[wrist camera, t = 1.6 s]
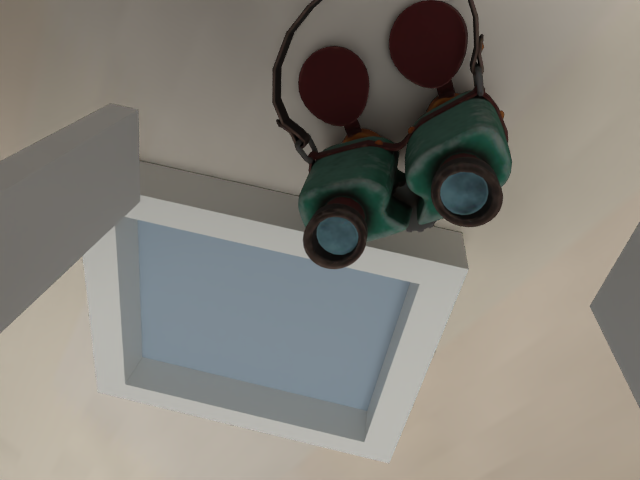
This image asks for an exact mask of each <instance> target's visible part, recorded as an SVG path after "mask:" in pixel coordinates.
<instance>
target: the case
mask: <svg viewBox="0 0 640 480" xmlns="http://www.w3.org/2000/svg"><path fill="white" fill-rule="evenodd" d="M298 200H299V196H295V195H290V194H286V193H282V192H277V191H273V190H268V189H264V188H259V187H255V186H250V185H246V184H241V183H237V182H232V181H228V180H223V179H219V178H215V177H210V176H206V175H201V174H197V173H192V172H188V171H183V170H179V169H174V168H170V167H165V166H161V165H156V164H152V163H148V162H143V161H140V202H139V203H138V204H137V205H136V206H135V207H134V208H133V209H132V210H131V211H130V212H129V213H128V214H127V215H125V216H124V217H123V218H122V219H121V220H120V221H119V222H118V223H117V224H116V225H115V226H114V227H113V228H112V229H111V230H110V231H108V232H107V233H106V234H105V235H104V236H103V237H102V238H101V239H100V240H99V241H98V242H97V243H96V244H95V245H94V246H93V247H91V248H90V249H89V250H88V251H87V252H86V253H85V254H84V255H83V264H84V273H85V282H86V291H87V300H88V310H89V319H90V328H91V337H92V346H93V355H94V365H95V374H96V383H97V392H98V393H102V394H106V395H110V396H114V397H118V398H123V399H127V400H131V401H135V402H139V403H143V404H147V405H151V406H155V407H159V408H164V409H168V410H172V411H176V412H180V413H184V414H188V415H192V416H196V417H201V418H205V419H209V420H213V421H217V422H221V423H225V424H229V425H233V426H237V427H242V428H246V429H250V430H254V431H258V432H262V433H266V434H270V435H274V436H279V437H283V438H287V439H291V440H295V441H299V442H303V443H307V444H311V445H315V446H320V447H324V448H328V449H332V450H336V451H340V452H344V453H348V454H352V455H357V456H361V457H365V458H369V459H373V460H377V461H381V462H385V463H390V460H391V458H392V455H393V453H394V450H395V448H396V446H397V443H398V441H399V438H400V436H401V433H402V431H403V428H404V426H405V424H406V421H407V419H408V416H409V414H410V411H411V409H412V406H413V404H414V402H415V399H416V397H417V394H418V392H419V389H420V387H421V385H422V382H423V380H424V377H425V375H426V372H427V370H428V367H429V365H430V363H431V360H432V358H433V355H434V353H435V350H436V348H437V345H438V343H439V341H440V338H441V336H442V333H443V331H444V328H445V326H446V324H447V321H448V319H449V316H450V314H451V311H452V309H453V306H454V304H455V302H456V299H457V297H458V294H459V292H460V289H461V287H462V284H463V282H464V280H465V277H466V275H467V272H468V270H469V268H468V263H467V257H466V251H465V246H464V240H463V235H462V233H460V232H456V231H451V230H447V229H442V228H438V227H432V228H426V229H424V231H423V232H418V231H412V232H406V230H404V231H401V232H398V233H396V234H393V235H390V236H387V237H383V238H380V239H376V240H372V241H368V242H366V247H365V249H364V251H363V253H362V255H361V256H360V257H359V259H357V260H356V261H355V262H354V263H353V264H351V265H349V266H347V267H344V268H341V269H326V268H323V267H320V266H319V265H317V264H315V263H314V262H313V261H312V260H311V259H310V258H309V257H308V255H307V254H306V252H305V249H304V246H303V234H304V231H305V226H304V223H303V221H302V219H301V216H300V213H299V209H298Z"/></svg>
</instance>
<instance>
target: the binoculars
mask: <svg viewBox="0 0 640 480" xmlns="http://www.w3.org/2000/svg"><path fill="white" fill-rule="evenodd" d="M321 1H322V0H313V1H312V2H311V3H310V4H309V5H307V7H306V8H305V9H304V10H303V12H302V13H301V14H300V16H299V17H298V18H297V19H296V21H295V22H294V23H293V24H292V26H291V27H290V28H289V30H288V31H287V32H286V35H285V37H284V40H283V43H282V45H281V48H280V51H279V53H278V56H277V59H276V61H275V64H274V67H273V94H272V103H273V105H274V107H275V110H276V112H277V115H278V117H279V119H277V120H276V122H277V124H278V126H279V127H281V128H283V129H284V130H286V131H287V132H288V133H290V135H291V137H292V139H293V141H294V144H295V148H296V150H297V151H298V153H299V154H300V155H301V156H302V158H303V159H304V160H305V161H306V162H308V163H309V175H308V177H307V179H306V181H305V184H304V186H303V188H302V190H301V193H300V195H299V200H298V209H299V213H300V216H301V219H302V221H303V223H304V226H305V231H304V234H303V246H304V249H305V252H306V254H307V255H308V257H309V258H310V259H311V260H312V261H313V262H314V263H315V264H317V265H319V266H320V267H323V268H326V269H341V268H344V267H347V266H349V265H351V264H353V263H354V262H355V261H356V260H357V259H359V257H360V256H361V255H362V253H363V251H364V249H365V247H366V242H368V241H372V240H376V239H380V238H383V237H387V236H390V235H393V234H396V233H398V232H401V231H404V230H406V232H412V231H418V232H423V231H424V229H426V228H432V227H433V226H434V223H435V222H436V221H437V220H440V219H443V218H444V219H446V220H447V221H449V222H451V223H453V224H455V225H459V226H463V227H476V226H480V225H483V224H485V223H487V222H489V221H491V220H492V219H493V218H494V217H495V216H496V215H497V214H498V212H499V211H500V208H501V206H502V201H503V193H502V188H501V187H502V186H503V185H504V184H505V183H506V181H507V180H508V178H509V176H510V173H511V167H512V159H511V155H510V150H509V147H508V131H507V128H506V126H505V123H504V121H503V118H504V112H503V111H500V110H499V108H498V106H497V105H496V103H495V102H494V101H493V99H492V98H491V97H490V96H489V95H488V94H487V93H485V88H484V86H483V76H482V74H483V72H484V67H483V61H482V56H481V52H482V50H483V48H484V45H483V34H481V35H480V36H479V22H478V14H477V11H476V8H475V5H474V1H473V0H468V3H469V6H470V9H471V12H472V15H473V32H474V49H473V53H472V57H471V61H470V71H471V72H472V74H473V78H474V86H475V88H474V89H473V90H470V91H468V92H465V93H462V94H458V93H455V91H454V87H453V83H452V80H451V79H452V78H453V77H454V76H455V74H456V73H457V72H458V70H459V68H460V67H461V65H462V63H463V60H464V57H465V54H466V50H467V44H468V32H467V27H466V24H465V21H464V19H463V17H462V16H461V14H460V13H459V12H458V10H456V9H455V8H454V7H453V6H451V5H449V4H447V3H445V2H441V1H436V0H427V1H421V2H418V3H415V4H413V5H411V6H410V7H408V8H406V9H405V10H404V11H403V12H402V13H401V14H400V15H399V16H398V18H397V19H396V21H395V22H394V25H393V27H392V29H391V33H390V38H389V50H390V55H391V58H392V60H393V62H394V64H395V66H396V67H397V69H398V70H399V71H400V73H401V74H403V75H404V76H405V77H406V78H407V79H408V80H410V81H411V82H413V83H414V84H417V85H419V86H422V87H425V88H437V91H438V95H439V96H437V97H436V98H435V99H434V100H433V101H432V102H431V104H430V105H429V108H428V110H427V113H426V114H424V115H423V116H421V117H420V118H419V119H418V120H417V121H416V122H415V124H414V125H413V127H410V128H409V129H408V135H407V136H406V137H405V139H404V140H403V141H401V142H400V143H393V142H392V141H390V140H388V139H386V138H383V137H381V136H380V135H378V134H377V133H375V132H373V131H371V130H368V129H363V128H362V129H361V128H360V125H359V122H358V120H357V119H358V118H359V116H360V115H361V114H362V112H363V110H364V108H365V106H366V102H367V99H368V94H369V76H368V73H367V69H366V67H365V65H364V63H363V62H362V60H361V59H360V58H359V57H358V56H357V55H356V54H355V53H353V52H352V51H351V50H348V49H346V48H344V47H338V46H330V47H325V48H322V49H319V50H318V51H316V52H314V53H313V54H312V55H311V56H310V57H309V58H308V59H307V60H306V61H305V63H304V64H303V66H302V68H301V71H300V74H299V81H298V85H299V93H300V96H301V99H302V101H303V102H304V104H305V106H306V107H307V108H308V110H309V111H310V112H311V113H312V114H313V115H315V116H316V117H317V118H318V119H320V120H322V121H324V122H325V123H328V124H331V125H334V126H344V127H345V130H346V132H347V136H346V137H345V139H344V140H343V142H342V143H341V144H338V145H334V146H331V147H329V148H327V149H324V150H323V151H322V152H319V153H318V151H317V148H316V146H315V144H314V142H313V140H312V138H311V136H310V135H309V134H308V133H306V131H305V130H304V129H303V128H301V127H300V126H299V125H298V124H296V123H295V122H294V121H292V120H291V119H290V118H289V116H288V114H287V112H286V109H285V107H284V104H283V102H282V99H281V66H282V64H283V61H284V58H285V56H286V53H287V51H288V48H289V45H290V43H291V40H292V37H293V35H294V32H295V31H296V30H297V28H298V27H299V26H300V25H301V23H302V22H303V21H304V20H305V18H306V17H307V16H308V15H309V13H310V12H311V11H312V10H313V8H314V7H315V6H316V5H318V4H319V3H320V2H321ZM476 60H478V63H477V62H476ZM308 143H309V145H310V147H311V148H312V152H310V154H309V155H308V156H307V154H306V153H305V152H304V151H303V150H302V148H304V147H305V146H306V145H307V144H308ZM406 144H407V148H406V154H405V173H403V172H401V171H400V170H398V168H397V164H398V158H399V150H400V149H402V148H403V147H404V146H405V145H406ZM315 160H316V161H315Z"/></svg>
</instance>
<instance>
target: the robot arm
mask: <svg viewBox="0 0 640 480" xmlns="http://www.w3.org/2000/svg"><path fill="white" fill-rule="evenodd" d="M139 202H140V161H139V118H138V109H134V108H129V107H125V106H120V105H116V104H111V103H110V104H108V105H106V106H105V107H103V108H101V109H99V110H97V111H95V112H93V113H91V114H89V115H87V116H85V117H84V118H82V119H80V120H78V121H76V122H74V123H72V124H70V125H68V126H66V127H64V128H63V129H61V130H59V131H57V132H55V133H53V134H51V135H49V136H47V137H45V138H43V139H42V140H40V141H38V142H36V143H34V144H32V145H30V146H28V147H26V148H24V149H23V150H21V151H19V152H17V153H15V154H13V155H11V156H9V157H7V158H5V159H3V160H2V161H0V333H1V332H2V331H3V330H4V329H5V328H7V327H8V326H9V325H10V324H11V323H12V322H13V321H14V320H15V319H16V318H17V317H18V316H19V315H20V314H21V313H22V312H24V311H25V310H26V309H27V308H28V307H29V306H30V305H31V304H32V303H33V302H34V301H35V300H36V299H37V298H38V297H39V296H40V295H42V294H43V293H44V292H45V291H46V290H47V289H48V288H49V287H50V286H51V285H52V284H53V283H54V282H55V281H56V280H57V279H59V278H60V277H61V276H62V275H63V274H64V273H65V272H66V271H67V270H68V269H69V268H70V267H71V266H72V265H73V264H74V263H76V262H77V261H78V260H79V259H80V258H81V257H82V256H83V255H84V254H85V253H86V252H87V251H88V250H89V249H90V248H91V247H93V246H94V245H95V244H96V243H97V242H98V241H99V240H100V239H101V238H102V237H103V236H104V235H105V234H106V233H107V232H108V231H110V230H111V229H112V228H113V227H114V226H115V225H116V224H117V223H118V222H119V221H120V220H121V219H122V218H123V217H124V216H125V215H127V214H128V213H129V212H130V211H131V210H132V209H133V208H134V207H135V206H136V205H137V204H138V203H139ZM590 308H591V310H592V312H593V314H594V316H595V318H596V320H597V322H598V324H599V326H600V328H601V330H602V332H603V334H604V336H605V338H606V340H607V342H608V344H609V346H610V349H611V351H612V353H613V355H614V357H615V359H616V361H617V363H618V365H619V367H620V369H621V371H622V373H623V375H624V377H625V379H626V381H627V383H628V385H629V387H630V389H631V391H632V394H633V396H634V398H635V400H636V402H637V404H638V406H639V408H640V222H639V224H638V225H637V227H636V229H635V230H634V232H633V234H632V236H631V237H630V239H629V241H628V242H627V244H626V246H625V247H624V249H623V251H622V252H621V254H620V256H619V258H618V259H617V261H616V263H615V264H614V266H613V268H612V269H611V271H610V273H609V274H608V276H607V278H606V280H605V281H604V283H603V285H602V286H601V288H600V290H599V291H598V293H597V295H596V296H595V298H594V300H593V301H592V303H591V305H590Z"/></svg>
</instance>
